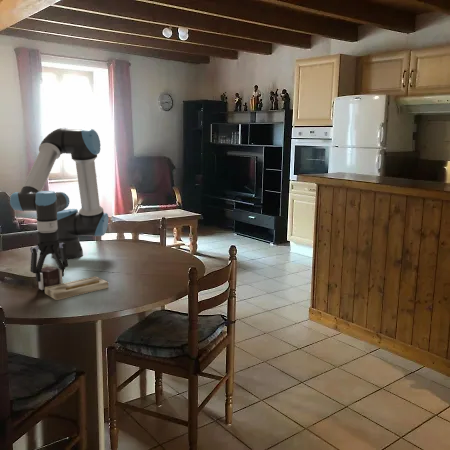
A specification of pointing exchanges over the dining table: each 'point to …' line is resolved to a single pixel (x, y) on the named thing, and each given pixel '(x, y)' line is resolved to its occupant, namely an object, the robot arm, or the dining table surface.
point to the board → (75, 288)
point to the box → (50, 276)
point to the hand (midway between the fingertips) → (50, 286)
